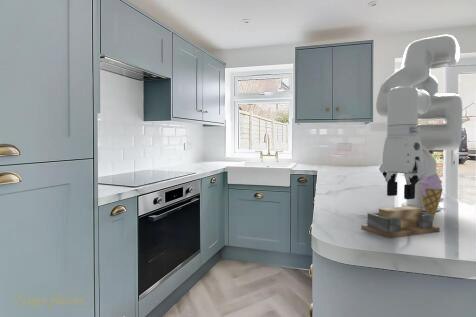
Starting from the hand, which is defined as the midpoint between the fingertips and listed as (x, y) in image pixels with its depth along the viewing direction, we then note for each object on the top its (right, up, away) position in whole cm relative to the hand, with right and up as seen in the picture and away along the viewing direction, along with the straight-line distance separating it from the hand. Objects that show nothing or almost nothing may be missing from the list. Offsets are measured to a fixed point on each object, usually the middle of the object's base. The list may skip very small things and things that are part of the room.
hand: (400, 196), depth 86 cm
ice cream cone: (+16, -9, +12) cm, 22 cm away
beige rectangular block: (0, -8, 0) cm, 8 cm away
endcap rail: (0, -9, 0) cm, 9 cm away
